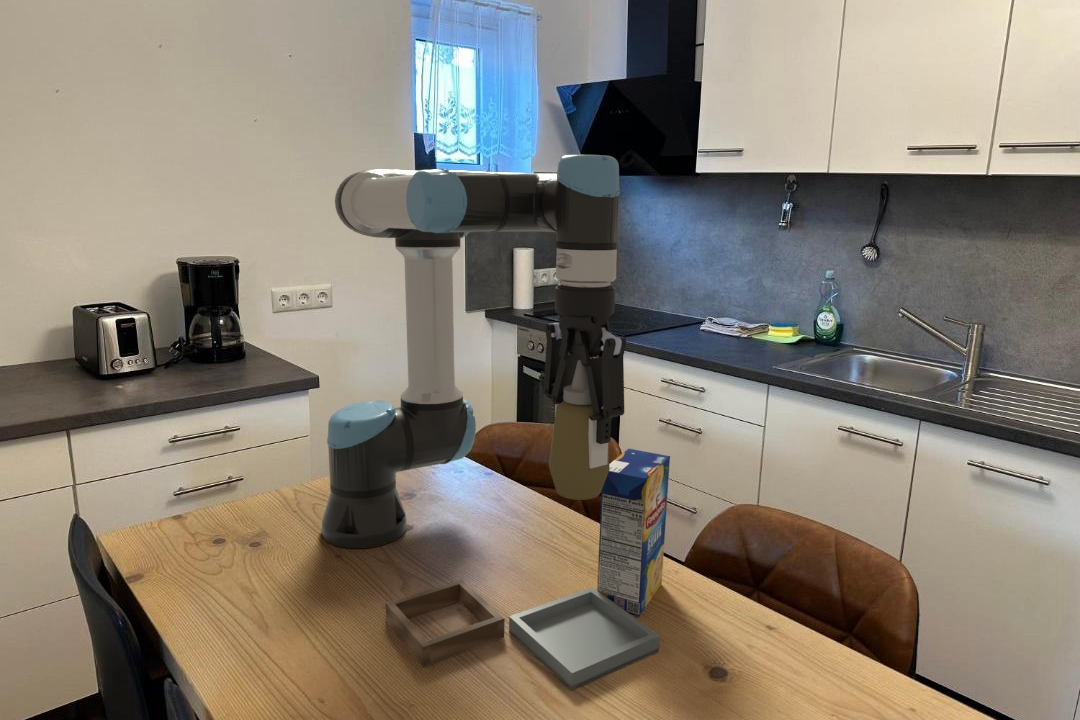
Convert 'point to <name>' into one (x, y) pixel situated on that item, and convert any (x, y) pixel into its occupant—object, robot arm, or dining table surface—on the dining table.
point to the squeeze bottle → (575, 443)
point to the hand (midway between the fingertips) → (580, 457)
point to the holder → (451, 642)
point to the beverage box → (633, 529)
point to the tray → (583, 637)
